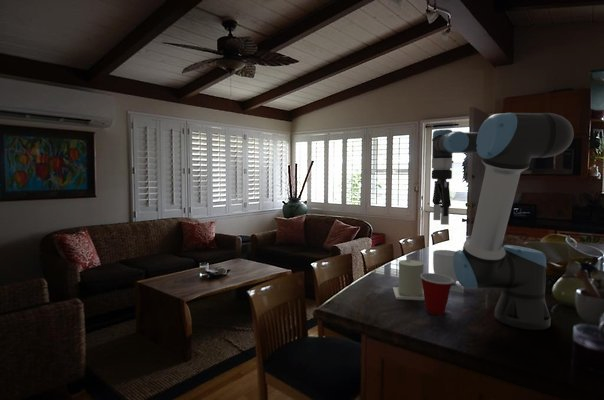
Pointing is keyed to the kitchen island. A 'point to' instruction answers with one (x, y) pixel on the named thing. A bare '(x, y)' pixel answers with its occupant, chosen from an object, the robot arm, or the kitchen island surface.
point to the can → (410, 277)
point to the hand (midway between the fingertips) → (440, 222)
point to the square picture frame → (401, 296)
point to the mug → (444, 263)
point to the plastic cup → (436, 292)
